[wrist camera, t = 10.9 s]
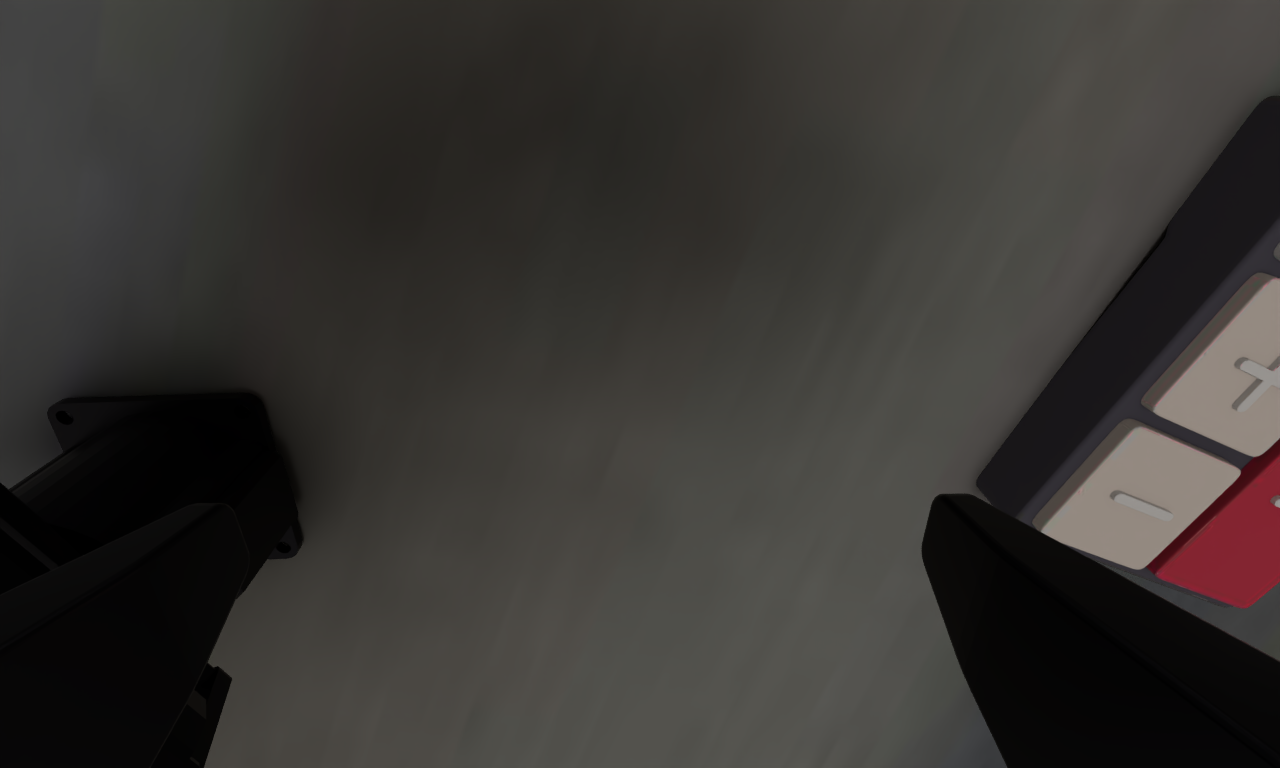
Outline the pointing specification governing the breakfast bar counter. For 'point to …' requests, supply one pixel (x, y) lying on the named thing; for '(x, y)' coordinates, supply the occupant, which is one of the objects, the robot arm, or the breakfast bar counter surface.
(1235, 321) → the calculator
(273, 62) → the breakfast bar counter surface
